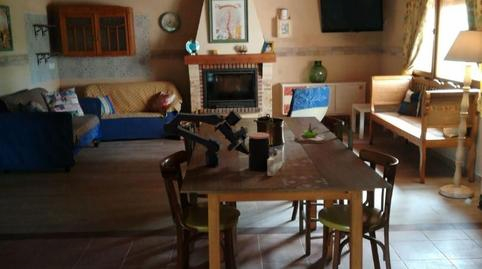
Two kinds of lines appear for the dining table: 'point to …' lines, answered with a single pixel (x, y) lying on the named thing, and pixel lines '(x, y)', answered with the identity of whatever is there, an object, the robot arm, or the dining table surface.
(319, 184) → the dining table surface
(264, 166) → the coffee jar
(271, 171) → the bench stop
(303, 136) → the plant
